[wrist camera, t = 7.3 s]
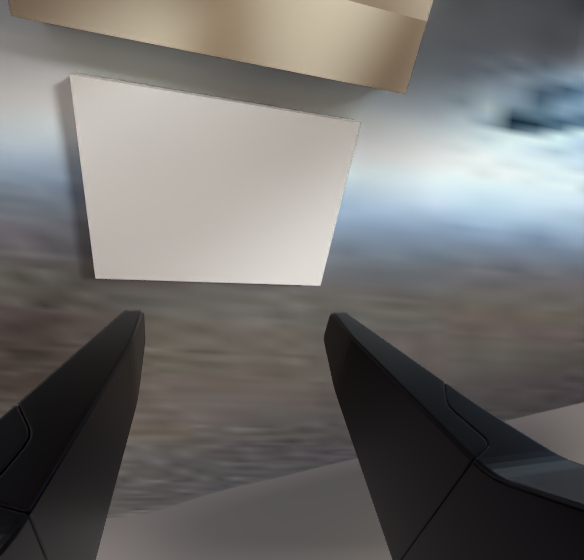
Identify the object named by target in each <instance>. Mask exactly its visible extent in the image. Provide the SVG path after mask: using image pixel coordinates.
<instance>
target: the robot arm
mask: <svg viewBox="0 0 584 560" xmlns="http://www.w3.org/2000/svg"><path fill="white" fill-rule="evenodd" d="M324 343H325V348H326V353H327V357H328V362H329V367H330V371H331V376H332V380H333V385H334V389H335V392H336V395H337V398H338V401H339V404H340V407H341V410H342V413H343V416H344V419H345V422H346V425H347V428H348V431H349V434H350V437H351V440H352V442H353V445H354V448H355V451H356V454H357V457H358V460H359V463H360V466H361V469H362V472H363V474H364V478H365V481H366V484H367V486H368V489H369V492H370V495H371V498H372V501H373V504H374V507H375V510H376V513H377V516H378V519H379V521H380V525H381V527H382V530H383V533H384V536H385V539H386V542H387V545H388V548H389V551H390V554H391V557H392V560H584V465H582V464H579V463H576V462H573V461H571V460H568V459H566V458H564V457H562V456H560V455H558V454H556V453H554V452H552V451H551V450H549V449H547V448H546V447H544V446H543V445H541V444H539V443H538V442H536V441H534V440H533V439H531V438H529V437H528V436H526V435H525V434H523V433H522V432H520V431H518V430H517V429H515V428H513V427H512V426H510V425H509V424H507V423H505V422H504V421H502V420H500V419H499V418H497V417H496V416H494V415H493V414H491V413H489V412H488V411H486V410H485V409H483V408H481V407H480V406H478V405H477V404H475V403H474V402H472V401H471V400H469V399H468V398H467V397H465V396H464V395H462V394H461V393H459V392H458V391H456V390H455V389H454V388H452V387H451V386H449V385H448V384H444V382H443V381H442V380H441V379H439V378H438V377H436V376H435V375H434V374H432V373H431V372H429V371H428V370H426V369H425V368H424V367H422V366H421V365H419V364H418V363H417V362H415V361H414V360H412V359H411V358H409V357H408V356H407V355H405V354H404V353H402V352H401V351H400V350H398V349H397V348H395V347H394V346H392V345H391V344H390V343H388V342H387V341H385V340H384V339H382V338H381V337H380V336H378V335H377V334H375V333H374V332H373V331H371V330H370V329H368V328H367V327H365V326H364V325H363V324H361V323H360V322H358V321H357V320H356V319H354V318H353V317H351V316H350V315H348V314H347V313H345V312H333V313H331V315H330V317H329V320H328V324H327V327H326V331H325V335H324ZM144 347H145V325H144V313H143V311H142V310H125V311H124V312H122V313H121V314H120V315H119V316H118V317H117V318H115V319H114V320H113V321H112V322H111V323H110V324H108V325H107V326H106V327H105V328H104V329H103V330H102V331H100V332H99V333H98V334H97V335H96V336H95V337H93V338H92V339H91V340H90V341H89V342H88V343H87V344H85V345H84V346H83V347H82V348H81V349H80V350H78V351H77V352H76V353H75V354H74V355H73V356H72V357H70V358H69V359H68V360H67V361H66V362H65V363H63V364H62V365H61V366H60V367H59V368H58V369H57V370H55V371H54V372H53V373H52V374H51V375H50V376H48V377H47V378H46V379H45V380H44V381H43V382H42V383H40V384H39V385H38V386H37V387H36V388H35V389H33V390H32V391H31V392H30V393H29V394H28V395H27V396H25V397H24V398H23V399H22V400H21V401H20V402H19V403H18V406H14V407H12V408H11V409H10V410H9V411H8V412H7V413H6V414H4V415H3V416H2V417H1V418H0V560H96V556H97V552H98V549H99V545H100V541H101V537H102V534H103V530H104V526H105V522H106V518H107V515H108V511H109V507H110V503H111V499H112V496H113V492H114V488H115V484H116V481H117V477H118V473H119V469H120V465H121V462H122V458H123V454H124V450H125V446H126V443H127V439H128V435H129V431H130V427H131V424H132V420H133V416H134V412H135V408H136V404H137V400H138V394H139V387H140V379H141V371H142V363H143V355H144Z"/></svg>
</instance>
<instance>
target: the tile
mask: <svg viewBox="0 0 584 560" xmlns="http://www.w3.org/2000/svg"><path fill="white" fill-rule="evenodd" d="M69 76H70V84H71V92H72V99H73V107H74V115H75V123H76V131H77V138H78V146H79V154H80V162H81V169H82V177H83V185H84V193H85V201H86V208H87V216H88V224H89V232H90V240H91V247H92V255H93V263H94V271H95V279H126V280H158V281H190V282H221V283H253V284H284V285H316V286H320V285H321V281H322V277H323V273H324V269H325V265H326V261H327V257H328V253H329V249H330V245H331V241H332V237H333V233H334V229H335V225H336V221H337V217H338V213H339V209H340V205H341V201H342V197H343V193H344V189H345V185H346V180H347V176H348V172H349V168H350V164H351V160H352V156H353V152H354V148H355V144H356V140H357V136H358V132H359V128H360V124H361V123H359V122H357V121H355V120H351V119H345V118H339V117H333V116H328V115H322V114H316V113H310V112H304V111H298V110H292V109H286V108H280V107H274V106H268V105H262V104H256V103H251V102H245V101H239V100H233V99H227V98H221V97H215V96H209V95H203V94H197V93H191V92H185V91H180V90H174V89H168V88H162V87H156V86H150V85H144V84H138V83H132V82H126V81H120V80H114V79H108V78H103V77H97V76H91V75H85V74H79V73H75V74H69Z"/></svg>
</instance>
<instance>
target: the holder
mask: <svg viewBox="0 0 584 560" xmlns="http://www.w3.org/2000/svg"><path fill="white" fill-rule="evenodd" d="M8 2H9V7H10V13H11V16H14V17H19V18H24V19H29V20H34V21H39V22H44V23H49V24H54V25H59V26H64V27H69V28H74V29H79V30H85V31H90V32H95V33H100V34H105V35H110V36H115V37H120V38H125V39H130V40H135V41H140V42H145V43H150V44H155V45H160V46H165V47H170V48H175V49H180V50H185V51H190V52H195V53H200V54H205V55H210V56H216V57H221V58H226V59H231V60H236V61H241V62H246V63H251V64H256V65H261V66H266V67H271V68H276V69H281V70H286V71H291V72H296V73H301V74H306V75H311V76H316V77H321V78H326V79H331V80H336V81H341V82H347V83H352V84H357V85H362V86H367V87H372V88H377V89H382V90H387V91H392V92H397V93H402V94H406V91H407V87H408V84H409V81H410V77H411V74H412V70H413V67H414V64H415V60H416V57H417V54H418V50H419V47H420V43H421V40H422V37H423V33H424V30H425V27H426V23H427V20H428V16H429V13H430V10H431V6H432V3H433V0H8Z"/></svg>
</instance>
